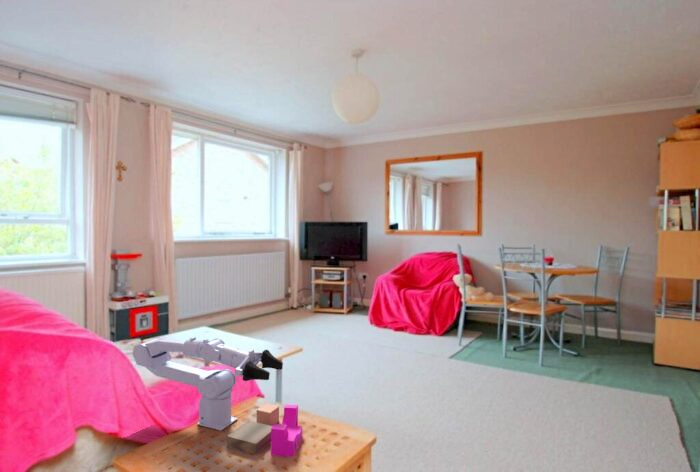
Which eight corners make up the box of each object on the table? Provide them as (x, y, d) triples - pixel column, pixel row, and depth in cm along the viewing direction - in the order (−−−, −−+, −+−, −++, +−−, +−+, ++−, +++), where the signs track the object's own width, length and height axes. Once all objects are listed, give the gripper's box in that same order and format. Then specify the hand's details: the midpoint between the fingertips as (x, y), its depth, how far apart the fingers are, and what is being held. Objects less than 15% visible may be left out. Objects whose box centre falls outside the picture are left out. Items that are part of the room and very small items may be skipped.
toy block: (293, 457, 113) (293, 430, 112) (270, 455, 113) (271, 428, 113) (305, 429, 128) (305, 405, 127) (285, 428, 128) (286, 404, 128)
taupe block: (226, 446, 117) (226, 436, 117) (248, 430, 127) (248, 420, 126) (256, 454, 113) (256, 443, 113) (276, 437, 123) (276, 427, 123)
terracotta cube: (256, 425, 130) (256, 409, 129) (265, 418, 134) (265, 403, 134) (270, 428, 128) (270, 412, 127) (278, 421, 132) (279, 406, 132)
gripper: (223, 354, 120) (263, 368, 116) (251, 338, 134) (288, 349, 130) (221, 377, 121) (261, 391, 117) (249, 358, 135) (286, 370, 131)
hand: (275, 371), depth 123 cm, fingers open, 7 cm apart
